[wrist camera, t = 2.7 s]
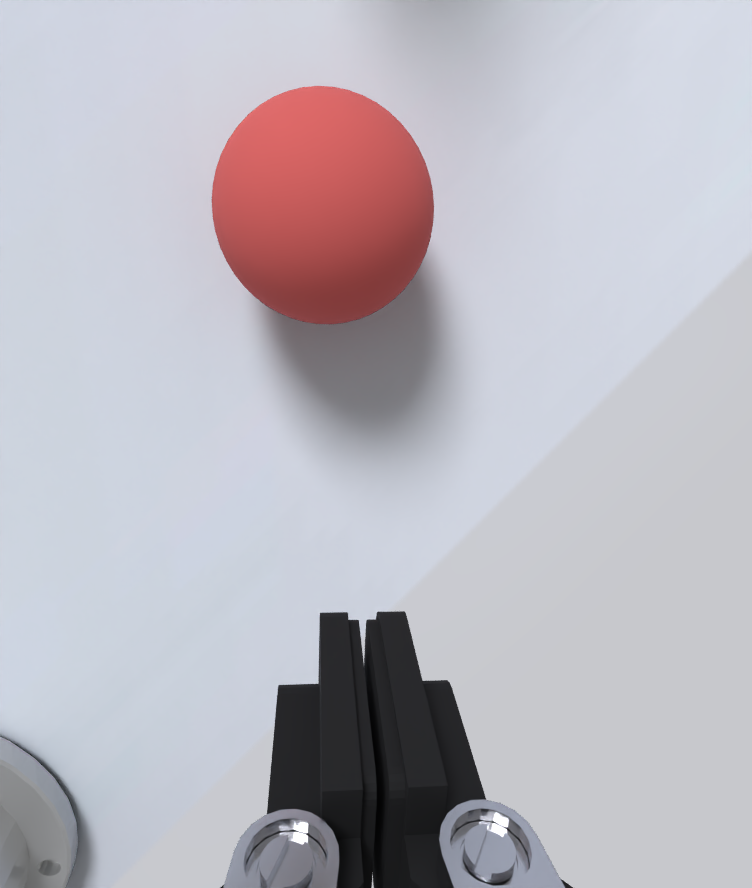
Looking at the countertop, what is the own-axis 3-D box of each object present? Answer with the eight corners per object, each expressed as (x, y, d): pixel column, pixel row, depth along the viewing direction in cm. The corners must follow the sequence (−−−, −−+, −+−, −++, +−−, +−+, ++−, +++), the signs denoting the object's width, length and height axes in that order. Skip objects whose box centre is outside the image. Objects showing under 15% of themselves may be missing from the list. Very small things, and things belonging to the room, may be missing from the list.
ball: (433, 282, 20) (485, 291, 14) (266, 337, 20) (252, 369, 14) (381, 90, 18) (417, 13, 12) (196, 150, 18) (147, 100, 12)
